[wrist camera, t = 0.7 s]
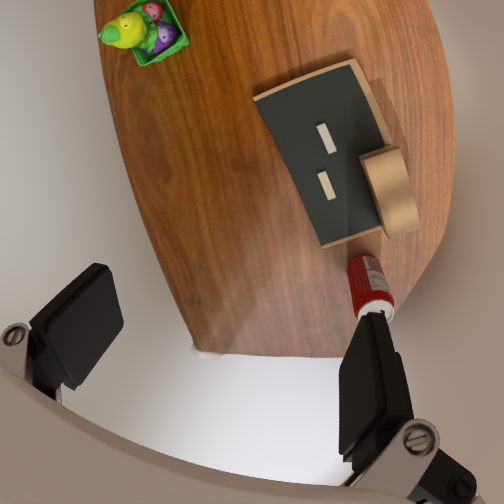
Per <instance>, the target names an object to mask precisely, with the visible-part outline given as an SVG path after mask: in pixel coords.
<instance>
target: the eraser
mask: <svg viewBox="0 0 504 504" xmlns="http://www.w3.org/2000/svg"><path fill="white" fill-rule="evenodd" d="M357 156H358V159H359V161H360V164H361V167H362V169H363V172H364V175H365V178H366V180H367V183H368V186H369V189H370V192H371V195H372V198H373V201H374V204H375V208H376V211H377V214H378V217H379V221H380V224H381V227H382V228H383V230H384V232H385V234H386V236H387V237H388V239H390V238H392V237H395V236H398V235H401V234H404V233H406V232H409V231H412V230H415V229H417V228H420V227H421V226H420V221H419V216H418V212H417V207H416V203H415V199H414V195H413V191H412V187H411V184H410V180H409V177H408V173H407V170H406V166H405V163H404V160H403V157H402V154H401V151H400V148H399V147H396V146H394V145H391V144H387V145H384V146H381V147H378V148H375V149H373V150H370V151H367V152H364V153H361V154H358V155H357Z"/></svg>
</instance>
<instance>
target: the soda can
mask: <svg viewBox="0 0 504 504" xmlns="http://www.w3.org/2000/svg"><path fill="white" fill-rule="evenodd" d="M347 274H348V279H349V285H350V290H351V296H352V302H353V308H354V313H355V316H356V318H357V319H358V321H359V320H360V318H361V316H362V315H366V314H367V313H368V312H378V313H384V314H385V316H386V320H387V323H389V322H390V321H391V320H392V318H393V316H394V300H393V297H392V295H391V292H390V289H389V286H388V284H387V281H386V278H385V276H384V273H383V270H382V268H381V265H380V263H379V261H378V260H377V259H376V258H375V257H374V256H371V255H368V254H365V255H359V256H357V257H355V258H354V259H353V260H352V261H351V262H350V263H349V265H348V268H347Z"/></svg>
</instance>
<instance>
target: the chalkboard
mask: <svg viewBox="0 0 504 504" xmlns="http://www.w3.org/2000/svg"><path fill="white" fill-rule="evenodd" d="M253 99H254V101H255V103H256V105H257V107H258V109H259V111H260V113H261V114H262V116H263V118H264V120H265V122H266V124H267V126H268V128H269V130H270V132H271V134H272V136H273V138H274V140H275V142H276V144H277V146H278V148H279V151H280V153H281V155H282V157H283V159H284V161H285V163H286V165H287V167H288V170H289V172H290V174H291V176H292V178H293V180H294V183H295V185H296V187H297V189H298V192H299V194H300V196H301V198H302V201H303V203H304V205H305V207H306V210H307V212H308V214H309V217H310V219H311V221H312V224H313V226H314V229H315V231H316V233H317V236H318V238H319V241H320V243H321V246H322V248H323V249H325V248H328V247H331V246H334V245H337V244H340V243H342V242H345V241H348V240H351V239H354V238H357V237H360V236H363V235H365V234H368V233H371V232H374V231H377V230H380V229H382V227H381V224H380V221H379V217H378V214H377V211H376V208H375V204H374V201H373V198H372V195H371V192H370V189H369V186H368V183H367V180H366V178H365V175H364V172H363V169H362V167H361V164H360V161H359V159H358V156H357V155H358V154H361V153H364V152H367V151H370V150H373V149H375V148H378V147H381V146H384V145H387V144H391V145H393V142H392V140H391V137H390V134H389V131H388V129H387V126H386V124H385V121H384V119H383V116H382V114H381V111H380V109H379V106H378V104H377V102H376V99H375V97H374V95H373V93H372V90H371V88H370V86H369V84H368V82H367V80H366V78H365V76H364V74H363V72H362V70H361V68H360V66H359V64H358V62H357V60H356V58H353V59H349V60H346V61H343V62H340V63H337V64H334V65H331V66H328V67H325V68H322V69H320V70H317V71H314V72H312V73H309V74H306V75H304V76H301V77H299V78H296V79H294V80H291V81H289V82H286V83H284V84H282V85H279V86H277V87H275V88H273V89H270V90H268V91H266V92H264V93H261V94H259V95H257V96H255V97H253ZM324 123H325V125H326V127H327V129H328V131H329V134H330V136H331V138H332V140H333V143H334V145H335V147H336V150H337V151H335V152H332V153H330V154H328V151H327V149H326V147H325V144H324V142H323V140H322V138H321V135H320V133H319V131H318V129H317V127H316V126H318V125H321V124H324ZM323 171H326V173H327V176H328V178H329V181H330V183H331V186H332V188H333V191H334V193H335V196H336V198H333V199H331V200H328V199H327V196H326V194H325V191H324V189H323V186H322V184H321V182H320V179H319V177H318V175H317V174H318V173H320V172H323Z"/></svg>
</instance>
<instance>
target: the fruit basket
mask: <svg viewBox="0 0 504 504" xmlns="http://www.w3.org/2000/svg"><path fill="white" fill-rule="evenodd" d="M98 37H101V40H102V42H103V43H105V44H107V45H113V46H116V47H118V48H132V51H133V53H134V55H135V57H136V59H137V62H138V64H139V65H140V66H145V65H148V64H150V63H152V62H156V61H160V60H163V59H165V58H166V57H167V56H169V55H171V54H173V53H175V52H176V51H178V50H180V49H181V48H182V47H183V46H186V45H188V44H189V43H190V42H189V40H188V38H187V36H186V35H185V33H184V30H183V28H182V26H181V25H180V23H179V21H178V19H177V17H176V15H175V13H174V11H173V9H172V7H171V5H170V4H169V2H168V0H137V1H135V2H134V3H133V4H131V5H130V6H128V7H127V8H126V9H124V10H123V11H122V12H121V13H120V14H119V17H117V18H116V19H114V20H112V21H110V22H108V23H107V24H105V26H104V27H103V29H102V31H101V33H98Z"/></svg>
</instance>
